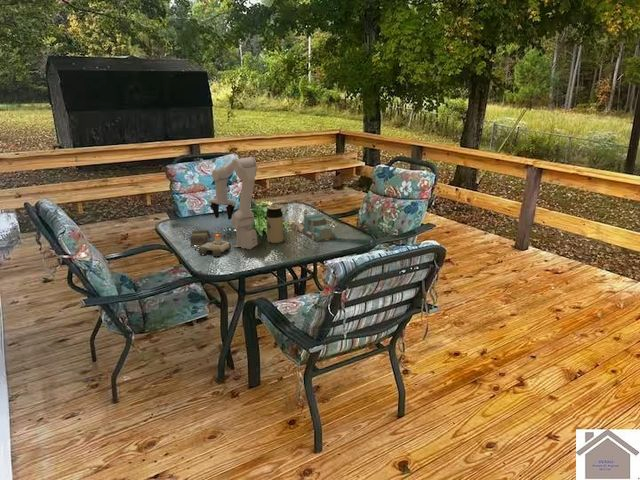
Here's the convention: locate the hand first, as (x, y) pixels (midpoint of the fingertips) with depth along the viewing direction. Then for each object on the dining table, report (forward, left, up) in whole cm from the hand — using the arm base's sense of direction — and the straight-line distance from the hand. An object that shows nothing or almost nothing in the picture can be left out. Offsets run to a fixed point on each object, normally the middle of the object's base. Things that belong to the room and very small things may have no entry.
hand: (223, 218), depth 243 cm
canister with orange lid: (-11, +23, -6) cm, 26 cm away
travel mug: (-28, -3, -10) cm, 30 cm away
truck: (-41, -22, -10) cm, 48 cm away
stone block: (+6, +12, -10) cm, 17 cm away
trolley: (-6, +23, -10) cm, 25 cm away
